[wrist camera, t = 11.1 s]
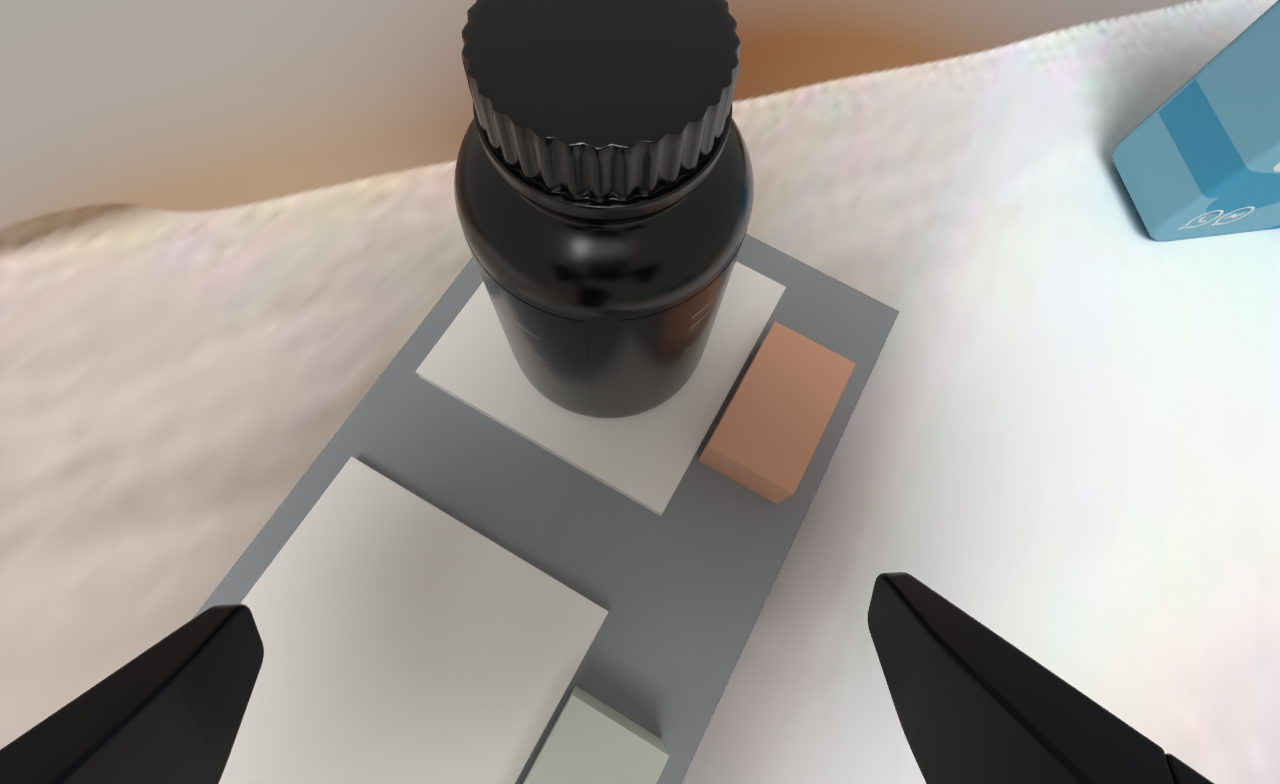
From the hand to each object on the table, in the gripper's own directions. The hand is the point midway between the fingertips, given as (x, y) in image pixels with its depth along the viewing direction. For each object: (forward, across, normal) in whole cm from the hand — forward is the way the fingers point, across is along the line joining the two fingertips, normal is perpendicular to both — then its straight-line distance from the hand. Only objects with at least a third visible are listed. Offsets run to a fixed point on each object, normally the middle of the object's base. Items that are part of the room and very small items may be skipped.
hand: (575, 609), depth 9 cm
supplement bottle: (+14, -1, +1) cm, 14 cm away
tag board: (+11, +1, +7) cm, 13 cm away
